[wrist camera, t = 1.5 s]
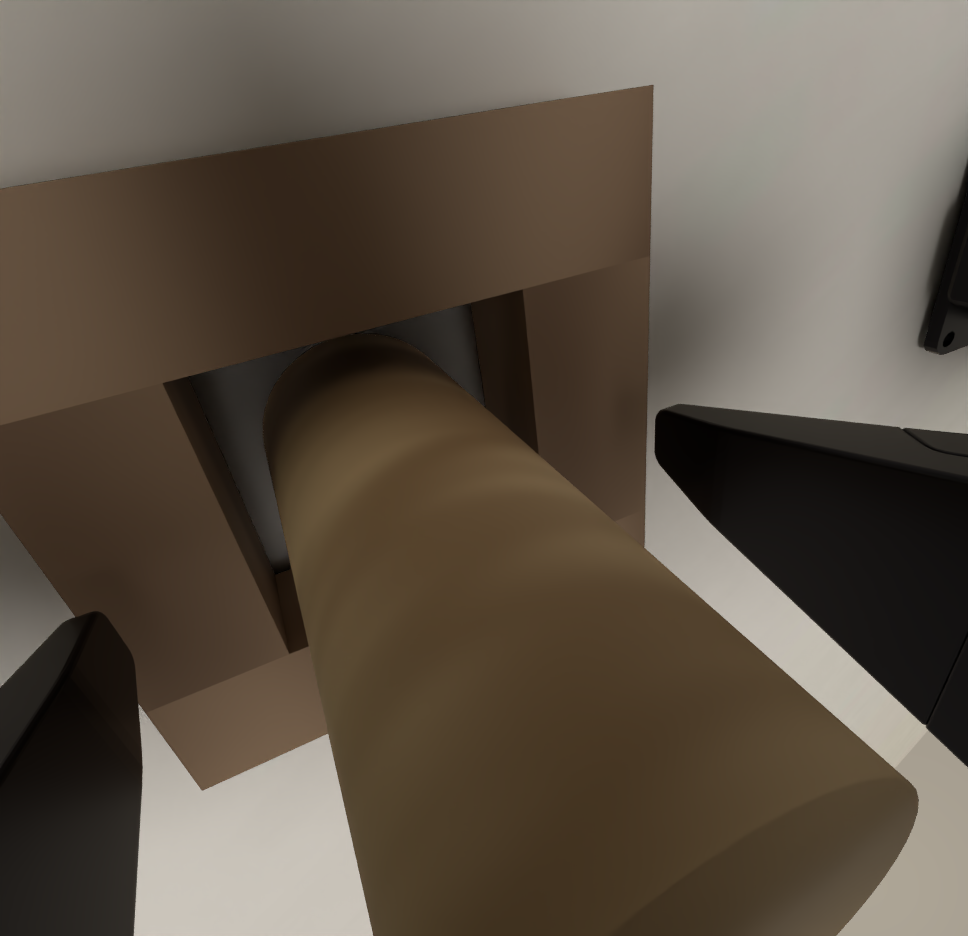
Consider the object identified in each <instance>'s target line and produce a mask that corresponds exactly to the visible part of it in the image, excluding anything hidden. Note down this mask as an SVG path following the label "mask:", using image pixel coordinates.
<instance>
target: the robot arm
mask: <svg viewBox="0 0 968 936" xmlns="http://www.w3.org/2000/svg"><path fill="white" fill-rule="evenodd" d="M967 345H968V191H967V194H966V198H965V201H964V205H963V208H962V212H961V215H960V219H959V222H958V226H957V229H956V233H955V236H954V240H953V243H952V247H951V250H950V254H949V257H948V261H947V264H946V268H945V271H944V275H943V278H942V282H941V285H940V289H939V292H938V296H937V299H936V303H935V306H934V310H933V313H932V317H931V320H930V324H929V327H928V331H927V334H926V338H925V342H924V348H925V350H926V351H928V352H932V353H935V354H939V355H943V354H946V353H949V352H952V351H954V350H957V349H959V348H962V347H965V346H967ZM655 456H656V459H657V461H658V463H659V464H660V466H661V467H662V468H663V469H664V470H665V472H666V473H667V474H668V475H669V476H670V477H671V479H672V480H673V481H674V482H675V483H676V484H677V486H678V487H679V488H680V489H681V490H682V491H683V493H684V494H685V495H686V496H687V497H688V498H689V500H690V501H691V502H692V503H693V504H694V505H695V506H696V508H697V509H698V510H699V511H700V512H701V513H702V515H703V516H704V517H705V518H706V519H707V520H708V521H709V522H710V523H711V524H712V525H713V526H714V527H715V528H716V529H717V530H718V531H719V532H720V533H721V534H722V535H723V536H724V537H725V538H726V539H727V540H728V541H729V542H730V543H732V544H733V545H734V546H735V547H736V548H737V549H738V550H739V551H740V552H741V553H742V554H743V555H744V556H745V557H746V558H747V559H748V560H749V561H751V562H752V563H753V564H754V565H755V566H756V567H757V568H758V569H759V570H760V571H761V572H762V573H763V574H764V575H765V576H766V577H767V578H769V579H770V580H771V581H772V582H773V583H774V584H775V585H776V586H777V587H778V588H779V589H780V590H781V591H782V592H783V593H784V594H785V595H787V596H788V597H789V598H790V599H791V600H792V601H793V602H794V603H795V604H796V605H797V606H798V607H799V608H800V609H801V610H802V611H803V612H805V613H806V614H807V615H808V616H809V617H810V618H811V619H812V620H813V621H814V622H815V623H816V624H817V625H818V626H819V627H820V628H821V629H822V630H824V631H825V632H826V633H827V634H828V635H829V636H830V637H831V638H832V639H833V640H834V641H835V642H836V643H837V644H838V645H839V646H840V647H842V648H843V649H844V650H845V651H846V652H847V653H848V654H849V655H850V656H851V657H852V658H853V659H854V660H855V661H856V662H857V663H858V664H860V665H861V666H862V667H863V668H864V669H865V670H866V671H867V672H868V673H869V674H870V675H871V676H872V677H873V678H874V679H875V680H876V681H878V682H879V683H880V684H881V685H882V686H883V687H884V688H885V689H886V690H887V691H888V692H889V693H890V694H891V695H892V696H893V697H894V698H895V699H897V700H898V701H899V702H900V703H901V704H902V705H903V706H904V707H905V708H906V709H907V710H908V711H909V712H910V713H911V714H912V715H913V716H915V717H916V718H917V719H918V720H919V721H920V722H921V723H922V724H924V725H926V728H927V729H928V730H929V731H930V732H931V733H932V734H933V735H934V736H935V737H936V738H937V739H938V740H939V741H940V742H941V743H943V744H944V745H945V746H946V747H947V748H948V749H949V750H950V751H951V752H952V753H953V754H954V755H955V756H956V757H957V758H958V759H960V760H961V761H962V762H963V763H964V764H965V765H966V766H967V767H968V434H962V433H951V432H941V431H931V430H921V429H912V428H904V429H901V428H899V427H892V426H883V425H874V424H864V423H855V422H845V421H836V420H827V419H817V418H808V417H799V416H789V415H780V414H770V413H761V412H752V411H742V410H733V409H723V408H714V407H705V406H695V405H686V404H677V405H673V406H671V407H668V408H665V409H662V410H660V411H659V412H658V413H657V416H656V419H655ZM142 769H143V766H142V747H141V734H140V721H139V708H138V695H137V682H136V669H135V663H134V659H133V656H132V654H131V651H130V650H129V648H128V647H127V645H126V644H125V642H124V641H123V639H122V638H121V636H120V635H119V634H118V632H117V631H116V629H115V628H114V626H113V625H112V623H111V622H110V621H109V619H108V618H107V616H106V615H104V614H103V613H102V612H99V611H92V612H89V613H86V614H83V615H81V616H78V617H75V618H72V619H69V620H67V621H65V622H63V623H62V624H61V625H60V626H59V627H58V628H57V629H56V630H55V631H54V632H53V633H52V634H51V635H50V636H49V637H48V639H47V640H46V641H45V642H44V643H43V644H42V645H41V646H40V647H39V648H38V649H37V650H36V651H35V652H34V653H33V654H32V655H31V656H30V657H29V658H28V659H27V660H26V661H25V663H24V664H23V665H22V666H21V667H20V668H19V669H18V670H17V671H16V672H15V673H14V674H13V675H12V676H11V677H10V678H9V679H8V680H7V681H6V682H5V683H4V684H3V685H2V686H1V688H0V936H134V920H135V903H136V885H137V867H138V849H139V832H140V814H141V796H142Z"/></svg>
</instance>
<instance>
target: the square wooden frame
mask: <svg viewBox="0 0 968 936" xmlns="http://www.w3.org/2000/svg"><path fill="white" fill-rule="evenodd" d="M652 133H653V85H649V86H643V87H636V88H630V89H623V90H617V91H611V92H604V93H598V94H591V95H585V96H578V97H572V98H565V99H559V100H553V101H547V102H540V103H534V104H528V105H522V106H515V107H509V108H503V109H496V110H490V111H484V112H478V113H471V114H465V115H459V116H453V117H446V118H440V119H434V120H428V121H421V122H415V123H409V124H402V125H396V126H390V127H384V128H377V129H371V130H365V131H359V132H352V133H346V134H340V135H334V136H327V137H321V138H315V139H308V140H302V141H296V142H290V143H283V144H277V145H271V146H265V147H258V148H252V149H246V150H240V151H233V152H227V153H221V154H215V155H208V156H202V157H196V158H189V159H183V160H177V161H171V162H164V163H158V164H152V165H146V166H139V167H133V168H127V169H121V170H114V171H108V172H102V173H95V174H89V175H83V176H77V177H70V178H64V179H58V180H52V181H45V182H39V183H33V184H27V185H20V186H14V187H8V188H2V189H0V514H1V515H2V517H3V518H4V519H5V521H6V522H7V523H8V525H9V526H10V528H11V529H12V530H13V532H14V533H15V534H16V536H17V537H18V538H19V540H20V541H21V543H22V544H23V545H24V547H25V548H26V549H27V551H28V552H29V554H30V555H31V556H32V558H33V559H34V560H35V562H36V563H37V565H38V566H39V567H40V569H41V570H42V571H43V573H44V574H45V576H46V577H47V578H48V580H49V581H50V582H51V584H52V585H53V587H54V588H55V589H56V591H57V592H58V593H59V595H60V596H61V598H62V599H63V600H64V602H65V603H66V604H67V606H68V607H69V609H70V610H71V611H72V613H73V614H74V615H75V617H78V616H81V615H83V614H86V613H89V612H92V611H99V612H102V613H103V614H104V615H106V616H107V618H108V619H109V621H110V622H111V623H112V625H113V626H114V628H115V629H116V631H117V632H118V634H119V635H120V636H121V638H122V639H123V641H124V642H125V644H126V645H127V647H128V648H129V650H130V651H131V654H132V656H133V659H134V663H135V669H136V682H137V695H138V703H139V705H140V706H141V707H142V709H143V710H144V712H145V713H146V714H147V716H148V717H149V718H150V720H151V721H152V723H153V724H154V725H155V727H156V728H157V729H158V731H159V732H160V734H161V735H162V736H163V738H164V739H165V740H166V742H167V743H168V745H169V746H170V747H171V749H172V750H173V751H174V753H175V754H176V756H177V757H178V758H179V760H180V761H181V762H182V764H183V765H184V767H185V768H186V769H187V771H188V772H189V773H190V775H191V776H192V778H193V779H194V780H195V782H196V783H197V784H198V786H199V787H200V789H201V790H202V791H203V790H205V789H207V788H209V787H211V786H214V785H216V784H218V783H220V782H222V781H225V780H227V779H229V778H231V777H233V776H236V775H238V774H240V773H242V772H244V771H247V770H249V769H251V768H253V767H255V766H258V765H260V764H262V763H264V762H266V761H269V760H271V759H273V758H275V757H277V756H280V755H282V754H284V753H286V752H288V751H291V750H293V749H295V748H297V747H299V746H301V745H304V744H306V743H308V742H310V741H312V740H315V739H317V738H319V737H321V736H323V735H326V734H328V730H327V725H326V721H325V716H324V712H323V707H322V703H321V698H320V694H319V689H318V685H317V680H316V676H315V672H314V667H313V663H312V658H311V654H310V649H309V645H308V640H307V636H306V631H305V627H304V622H303V618H302V613H301V609H300V604H299V600H298V595H297V591H296V586H295V582H294V577H293V573H292V569H290V570H287V571H284V572H282V573H279V574H276V575H275V574H274V571H273V569H272V567H271V564H270V562H269V560H268V558H267V555H266V553H265V551H264V549H263V546H262V544H261V542H260V540H259V537H258V535H257V533H256V530H255V528H254V526H253V524H252V521H251V519H250V517H249V515H248V512H247V510H246V508H245V505H244V503H243V501H242V499H241V496H240V494H239V492H238V490H237V487H236V485H235V483H234V481H233V478H232V476H231V474H230V471H229V469H228V467H227V465H226V462H225V460H224V458H223V456H222V453H221V451H220V449H219V446H218V444H217V442H216V440H215V437H214V435H213V433H212V431H211V428H210V426H209V424H208V422H207V419H206V417H205V415H204V412H203V410H202V408H201V406H200V403H199V401H198V399H197V397H196V394H195V392H194V390H193V387H192V385H191V383H190V381H189V378H188V376H192V375H195V374H199V373H203V372H207V371H211V370H215V369H218V368H222V367H226V366H230V365H234V364H238V363H241V362H245V361H249V360H253V359H257V358H261V357H264V356H268V355H272V354H276V353H280V352H284V351H287V350H291V349H295V348H299V347H303V346H307V345H311V344H314V343H318V342H322V341H326V340H330V339H334V338H337V337H341V336H345V335H349V334H353V333H357V332H360V331H364V330H368V329H372V328H376V327H380V326H383V325H387V324H391V323H395V322H399V321H403V320H406V319H410V318H414V317H418V316H422V315H426V314H430V313H433V312H437V311H441V310H445V309H449V308H453V307H456V306H460V305H464V304H468V303H471V309H472V316H473V323H474V329H475V336H476V343H477V350H478V357H479V363H480V370H481V377H482V384H483V391H484V397H485V404H486V409H487V410H488V411H490V412H491V413H492V414H493V415H494V416H495V417H496V418H498V419H499V420H500V421H501V422H502V423H503V424H504V425H505V426H507V427H508V428H509V429H510V430H511V431H512V432H513V433H515V434H516V435H517V436H518V437H519V438H520V439H521V440H522V441H524V442H525V443H526V444H527V445H528V446H529V447H530V448H532V449H533V450H534V451H535V452H536V453H537V454H538V455H539V456H541V457H542V458H543V459H544V460H545V461H546V462H547V463H549V464H550V465H551V466H552V467H553V468H554V469H555V470H556V471H558V472H559V473H560V474H561V475H562V476H563V477H564V478H566V479H567V480H568V481H569V482H570V483H571V484H572V485H573V486H575V487H576V488H577V489H578V490H579V491H580V492H581V493H583V494H584V495H585V496H586V497H587V498H588V499H589V500H590V501H592V502H593V503H594V504H595V505H596V506H597V507H598V508H600V509H601V510H602V511H603V512H604V513H605V514H606V515H607V516H609V517H610V518H611V519H612V520H613V521H614V522H615V523H617V524H618V525H619V526H620V527H621V528H622V529H623V530H624V531H626V532H627V533H628V534H629V535H630V536H631V537H632V538H634V539H635V540H636V541H637V542H638V543H639V544H640V545H641V546H643V547H644V542H645V491H646V439H647V388H648V337H649V286H650V235H651V184H652Z"/></svg>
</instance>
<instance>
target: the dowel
mask: <svg viewBox="0 0 968 936" xmlns="http://www.w3.org/2000/svg"><path fill="white" fill-rule="evenodd" d="M263 441H264V448H265V452H266V457H267V461H268V465H269V470H270V474H271V479H272V483H273V488H274V492H275V497H276V501H277V506H278V510H279V515H280V519H281V524H282V528H283V533H284V537H285V542H286V546H287V551H288V555H289V560H290V564H291V569H292V573H293V577H294V582H295V586H296V591H297V595H298V600H299V604H300V609H301V613H302V618H303V622H304V627H305V631H306V636H307V640H308V645H309V649H310V654H311V658H312V663H313V667H314V672H315V676H316V680H317V685H318V689H319V694H320V698H321V703H322V707H323V712H324V716H325V721H326V725H327V730H328V734H329V739H330V743H331V748H332V752H333V757H334V761H335V766H336V770H337V775H338V779H339V784H340V788H341V792H342V797H343V801H344V806H345V810H346V815H347V819H348V824H349V828H350V833H351V837H352V842H353V846H354V851H355V855H356V860H357V864H358V869H359V873H360V878H361V882H362V887H363V891H364V895H365V900H366V904H367V909H368V913H369V918H370V922H371V927H372V931H373V936H836V935H837V934H838V933H839V932H840V931H841V929H843V928H844V926H845V925H846V924H847V923H848V922H849V921H850V920H851V918H852V917H853V916H854V915H855V914H856V913H857V911H858V910H859V909H860V908H861V907H862V905H863V904H864V903H865V902H866V900H867V899H868V898H869V897H870V895H871V894H872V893H873V891H874V890H875V889H876V888H877V886H878V885H879V884H880V882H881V881H882V880H883V878H884V877H885V875H886V874H887V872H888V871H889V869H890V868H891V866H892V865H893V863H894V862H895V860H896V859H897V857H898V855H899V854H900V852H901V850H902V848H903V847H904V845H905V843H906V841H907V839H908V837H909V835H910V833H911V830H912V828H913V826H914V822H915V819H916V816H917V813H918V801H919V799H918V795H917V791H916V789H915V788H914V787H913V785H912V784H911V783H910V782H909V781H908V780H906V779H905V778H904V777H903V776H902V775H901V774H900V773H899V772H898V771H896V770H895V769H894V768H893V767H892V766H891V765H890V764H889V763H887V762H886V761H885V760H884V759H883V758H882V757H881V756H879V755H878V754H877V753H876V752H875V751H874V750H873V749H872V748H870V747H869V746H868V745H867V744H866V743H865V742H864V741H862V740H861V739H860V738H859V737H858V736H857V735H856V734H855V733H853V732H852V731H851V730H850V729H849V728H848V727H847V726H845V725H844V724H843V723H842V722H841V721H840V720H839V719H838V718H836V717H835V716H834V715H833V714H832V713H831V712H830V711H828V710H827V709H826V708H825V707H824V706H823V705H822V704H821V703H819V702H818V701H817V700H816V699H815V698H814V697H813V696H811V695H810V694H809V693H808V692H807V691H806V690H805V689H804V688H802V687H801V686H800V685H799V684H798V683H797V682H796V681H794V680H793V679H792V678H791V677H790V676H789V675H788V674H787V673H785V672H784V671H783V670H782V669H781V668H780V667H779V666H777V665H776V664H775V663H774V662H773V661H772V660H771V659H770V658H768V657H767V656H766V655H765V654H764V653H763V652H762V651H760V650H759V649H758V648H757V647H756V646H755V645H754V644H753V643H751V642H750V641H749V640H748V639H747V638H746V637H745V636H743V635H742V634H741V633H740V632H739V631H738V630H737V629H736V628H734V627H733V626H732V625H731V624H730V623H729V622H728V621H726V620H725V619H724V618H723V617H722V616H721V615H720V614H719V613H717V612H716V611H715V610H714V609H713V608H712V607H711V606H709V605H708V604H707V603H706V602H705V601H704V600H703V599H702V598H700V597H699V596H698V595H697V594H696V593H695V592H694V591H692V590H691V589H690V588H689V587H688V586H687V585H686V584H685V583H683V582H682V581H681V580H680V579H679V578H678V577H677V576H675V575H674V574H673V573H672V572H671V571H670V570H669V569H668V568H666V567H665V566H664V565H663V564H662V563H661V562H660V561H658V560H657V559H656V558H655V557H654V556H653V555H652V554H651V553H649V552H648V551H647V550H646V549H645V548H644V547H643V546H641V545H640V544H639V543H638V542H637V541H636V540H635V539H634V538H632V537H631V536H630V535H629V534H628V533H627V532H626V531H624V530H623V529H622V528H621V527H620V526H619V525H618V524H617V523H615V522H614V521H613V520H612V519H611V518H610V517H609V516H607V515H606V514H605V513H604V512H603V511H602V510H601V509H600V508H598V507H597V506H596V505H595V504H594V503H593V502H592V501H590V500H589V499H588V498H587V497H586V496H585V495H584V494H583V493H581V492H580V491H579V490H578V489H577V488H576V487H575V486H573V485H572V484H571V483H570V482H569V481H568V480H567V479H566V478H564V477H563V476H562V475H561V474H560V473H559V472H558V471H556V470H555V469H554V468H553V467H552V466H551V465H550V464H549V463H547V462H546V461H545V460H544V459H543V458H542V457H541V456H539V455H538V454H537V453H536V452H535V451H534V450H533V449H532V448H530V447H529V446H528V445H527V444H526V443H525V442H524V441H522V440H521V439H520V438H519V437H518V436H517V435H516V434H515V433H513V432H512V431H511V430H510V429H509V428H508V427H507V426H505V425H504V424H503V423H502V422H501V421H500V420H499V419H498V418H496V417H495V416H494V415H493V414H492V413H491V412H490V411H488V410H487V409H486V408H485V407H484V406H483V405H482V404H481V403H479V402H478V401H477V400H476V399H475V398H474V397H473V396H471V395H470V394H469V393H468V392H467V391H466V390H465V389H464V388H462V387H461V386H460V385H459V384H458V383H457V382H456V381H454V380H453V379H452V378H451V377H450V376H449V375H448V374H447V373H445V372H444V371H443V370H442V369H441V368H440V367H439V366H437V365H436V364H435V363H434V362H433V361H432V360H431V359H430V358H428V357H427V356H426V355H425V354H424V353H422V352H421V351H420V350H418V349H417V348H415V347H414V346H412V345H410V344H408V343H406V342H404V341H401V340H399V339H396V338H393V337H389V336H384V335H379V334H352V335H346V336H341V337H337V338H334V339H331V340H328V341H325V342H323V343H321V344H319V345H317V346H315V347H313V348H311V349H310V350H308V351H307V352H305V353H304V354H302V355H301V356H300V357H299V358H297V359H296V360H295V361H294V362H293V363H292V364H291V365H290V366H289V367H288V368H287V369H286V370H285V371H284V372H283V374H282V375H281V376H280V378H279V379H278V381H277V382H276V384H275V385H274V387H273V389H272V391H271V394H270V396H269V398H268V401H267V404H266V407H265V411H264V417H263Z"/></svg>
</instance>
